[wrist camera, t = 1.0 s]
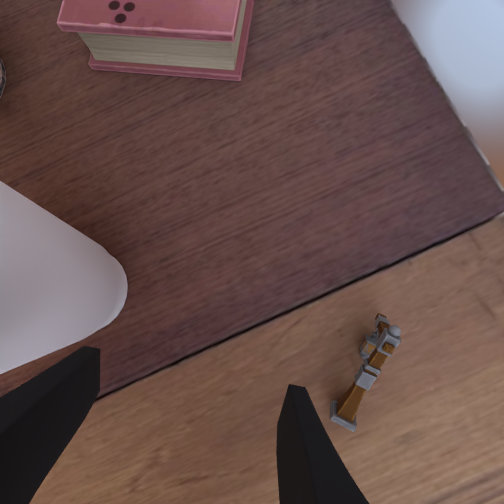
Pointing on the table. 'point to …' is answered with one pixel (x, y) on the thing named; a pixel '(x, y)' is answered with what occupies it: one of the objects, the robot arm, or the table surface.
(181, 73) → the book
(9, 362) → the cup
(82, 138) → the table surface
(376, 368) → the wooden post with brackets
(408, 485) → the table surface
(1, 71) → the teapot
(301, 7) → the table surface
